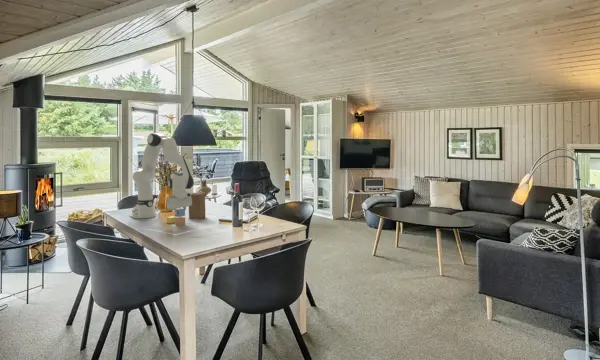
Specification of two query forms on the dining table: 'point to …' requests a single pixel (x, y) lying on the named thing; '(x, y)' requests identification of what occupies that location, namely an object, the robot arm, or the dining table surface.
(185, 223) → the build plate
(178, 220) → the brick terracotta
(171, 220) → the brick mustard
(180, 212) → the brick slate
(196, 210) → the block
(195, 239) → the dining table surface
